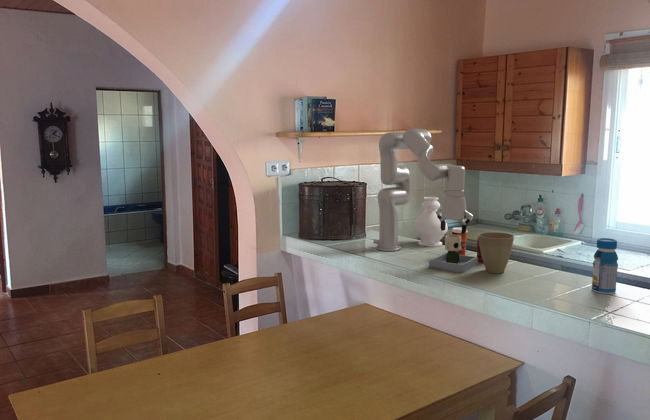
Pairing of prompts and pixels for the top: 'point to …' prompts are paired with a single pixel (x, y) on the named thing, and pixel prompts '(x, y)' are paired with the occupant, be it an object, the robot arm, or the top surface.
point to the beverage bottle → (605, 266)
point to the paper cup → (463, 239)
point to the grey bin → (464, 265)
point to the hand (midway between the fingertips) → (453, 231)
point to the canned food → (479, 252)
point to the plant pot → (495, 250)
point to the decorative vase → (429, 223)
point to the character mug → (453, 248)
